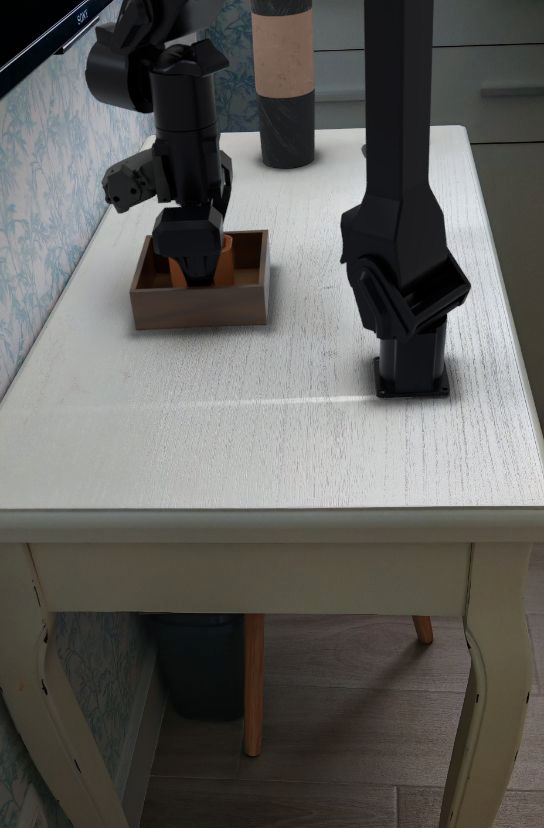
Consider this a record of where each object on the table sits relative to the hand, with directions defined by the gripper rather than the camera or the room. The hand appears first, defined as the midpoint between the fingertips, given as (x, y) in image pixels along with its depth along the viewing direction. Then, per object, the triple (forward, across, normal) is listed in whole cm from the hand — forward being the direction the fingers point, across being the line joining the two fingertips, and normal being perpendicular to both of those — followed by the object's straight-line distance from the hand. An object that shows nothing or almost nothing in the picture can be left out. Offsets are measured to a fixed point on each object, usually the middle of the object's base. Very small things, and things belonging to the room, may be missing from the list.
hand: (204, 283), depth 95 cm
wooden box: (+2, 0, 0) cm, 2 cm away
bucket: (+1, 0, 0) cm, 1 cm away
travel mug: (+2, -40, +8) cm, 41 cm away
